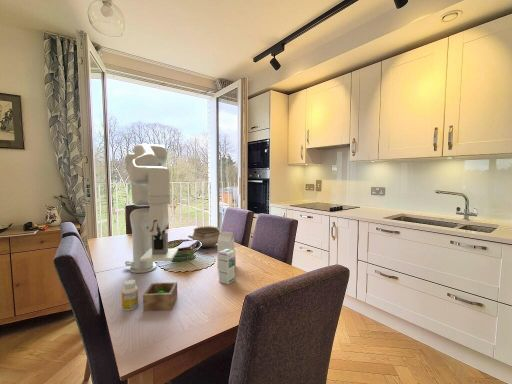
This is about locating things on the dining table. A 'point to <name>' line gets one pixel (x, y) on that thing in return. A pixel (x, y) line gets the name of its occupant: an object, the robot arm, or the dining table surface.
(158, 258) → the lid
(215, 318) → the dining table surface
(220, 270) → the syrup box
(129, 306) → the supplement bottle
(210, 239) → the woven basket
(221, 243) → the milk carton
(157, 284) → the box
